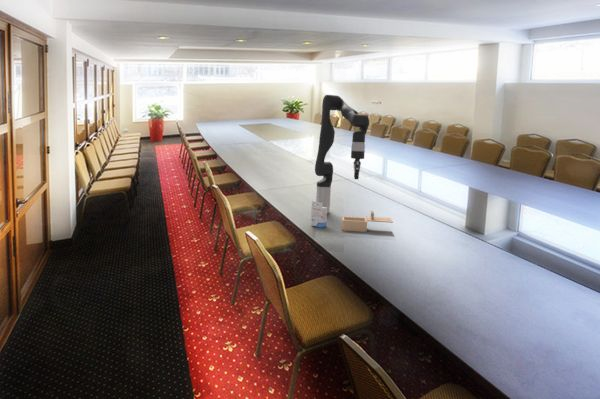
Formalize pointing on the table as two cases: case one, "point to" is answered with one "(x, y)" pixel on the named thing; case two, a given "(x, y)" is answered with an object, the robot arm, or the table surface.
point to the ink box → (318, 215)
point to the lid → (378, 218)
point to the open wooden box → (354, 224)
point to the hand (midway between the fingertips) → (356, 178)
